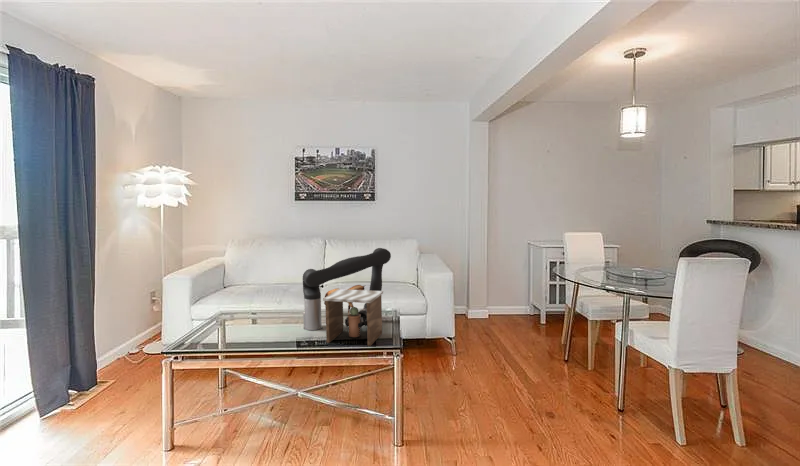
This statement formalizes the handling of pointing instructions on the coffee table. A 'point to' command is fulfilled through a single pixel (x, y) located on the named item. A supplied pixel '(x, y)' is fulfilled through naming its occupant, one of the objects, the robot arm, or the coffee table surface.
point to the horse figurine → (356, 287)
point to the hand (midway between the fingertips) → (352, 325)
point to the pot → (354, 322)
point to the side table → (361, 296)
